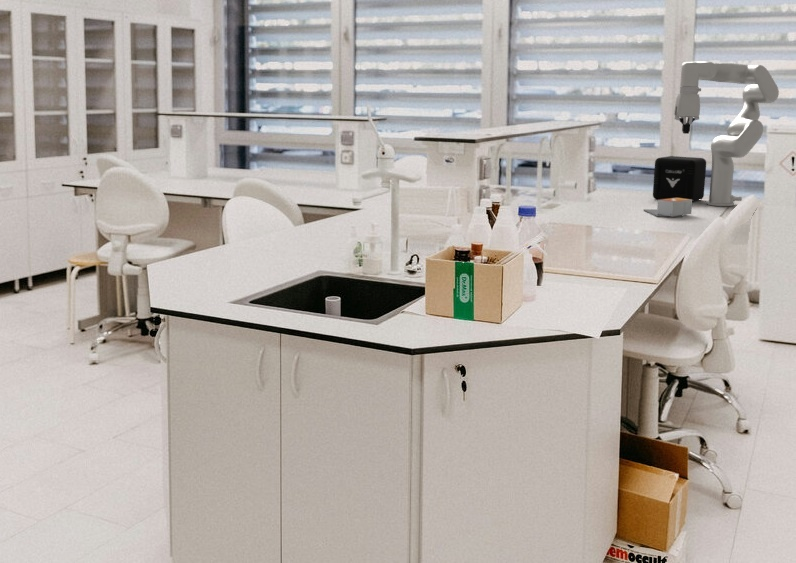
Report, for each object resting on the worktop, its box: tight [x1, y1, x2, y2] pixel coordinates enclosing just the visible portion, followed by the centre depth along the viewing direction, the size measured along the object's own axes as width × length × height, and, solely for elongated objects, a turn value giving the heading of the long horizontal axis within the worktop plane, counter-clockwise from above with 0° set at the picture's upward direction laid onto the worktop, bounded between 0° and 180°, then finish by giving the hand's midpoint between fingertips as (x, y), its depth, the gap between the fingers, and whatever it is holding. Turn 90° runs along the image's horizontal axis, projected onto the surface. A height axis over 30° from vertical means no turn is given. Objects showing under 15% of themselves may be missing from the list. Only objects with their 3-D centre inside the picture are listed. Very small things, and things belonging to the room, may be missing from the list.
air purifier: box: [652, 155, 707, 202], centre depth 435 cm, size 20×15×20 cm
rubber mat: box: [643, 208, 684, 218], centre depth 392 cm, size 11×18×1 cm, turn 3°
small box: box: [656, 198, 693, 216], centre depth 386 cm, size 8×6×13 cm
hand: (685, 133), depth 403 cm, fingers closed
